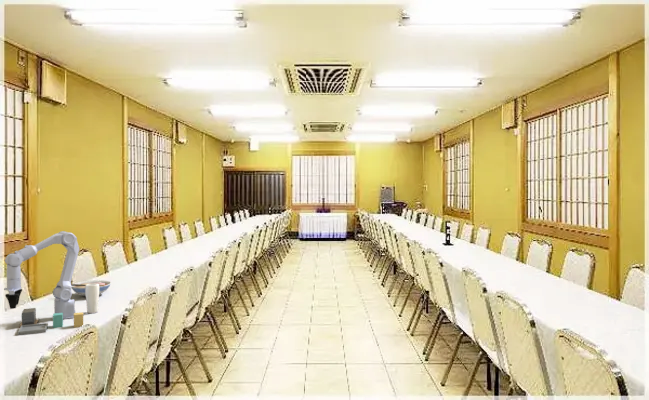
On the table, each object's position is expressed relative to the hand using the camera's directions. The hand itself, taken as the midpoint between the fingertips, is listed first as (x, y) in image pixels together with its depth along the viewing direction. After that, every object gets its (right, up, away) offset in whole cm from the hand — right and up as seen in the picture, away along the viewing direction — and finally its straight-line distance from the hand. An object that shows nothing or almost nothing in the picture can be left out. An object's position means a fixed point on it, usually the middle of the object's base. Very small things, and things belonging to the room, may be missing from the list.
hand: (14, 306), depth 238 cm
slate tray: (+13, -10, -7) cm, 18 cm away
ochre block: (+31, -10, +1) cm, 32 cm away
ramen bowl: (+6, -8, +66) cm, 66 cm away
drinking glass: (+25, -9, +26) cm, 38 cm away
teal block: (+21, -10, 0) cm, 23 cm away
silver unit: (+6, -9, +3) cm, 11 cm away
